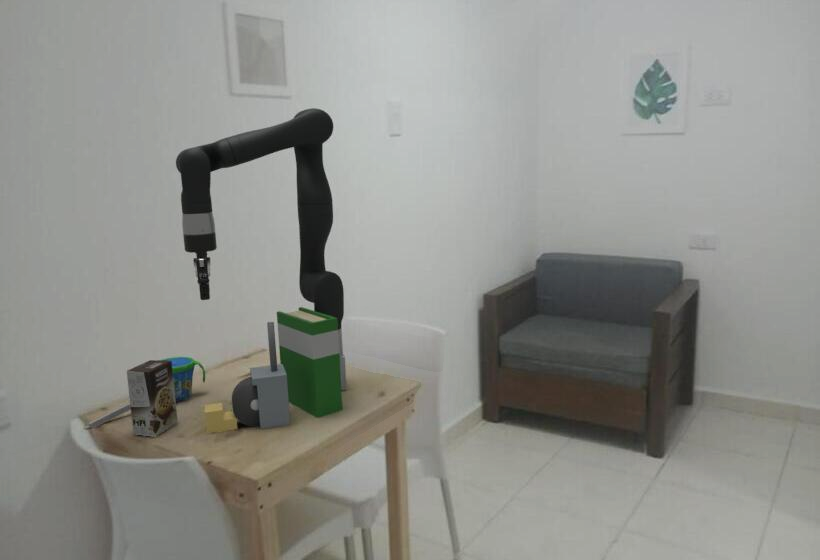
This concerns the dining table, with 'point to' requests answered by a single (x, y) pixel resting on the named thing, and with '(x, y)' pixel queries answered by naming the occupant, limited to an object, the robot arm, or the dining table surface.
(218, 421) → the wedge
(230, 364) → the dining table surface
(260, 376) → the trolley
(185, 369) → the snack cup
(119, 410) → the caliper
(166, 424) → the coffee box
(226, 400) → the dining table surface
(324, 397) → the hardback book
